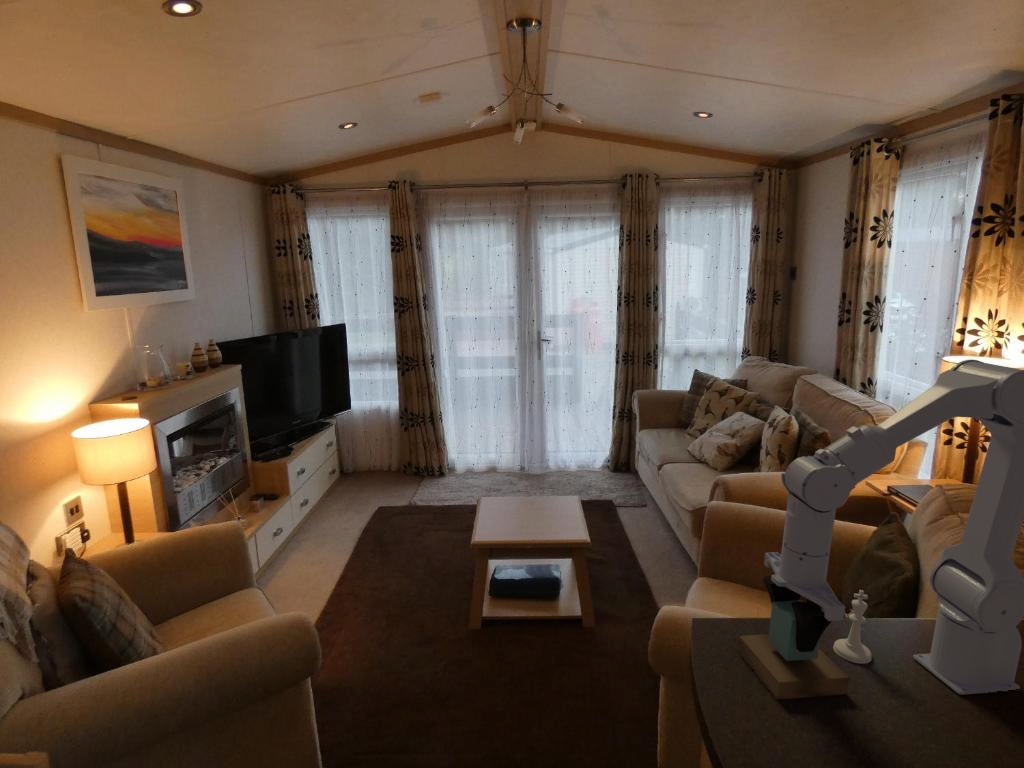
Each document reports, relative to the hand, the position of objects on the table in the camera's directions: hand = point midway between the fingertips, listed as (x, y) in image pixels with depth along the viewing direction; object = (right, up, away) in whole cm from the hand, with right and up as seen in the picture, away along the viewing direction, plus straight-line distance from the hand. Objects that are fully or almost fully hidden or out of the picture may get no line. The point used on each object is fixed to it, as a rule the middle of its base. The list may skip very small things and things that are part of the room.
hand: (793, 638), depth 81 cm
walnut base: (0, -5, +1) cm, 5 cm away
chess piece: (+11, -5, +6) cm, 13 cm away
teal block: (0, -2, 0) cm, 2 cm away
